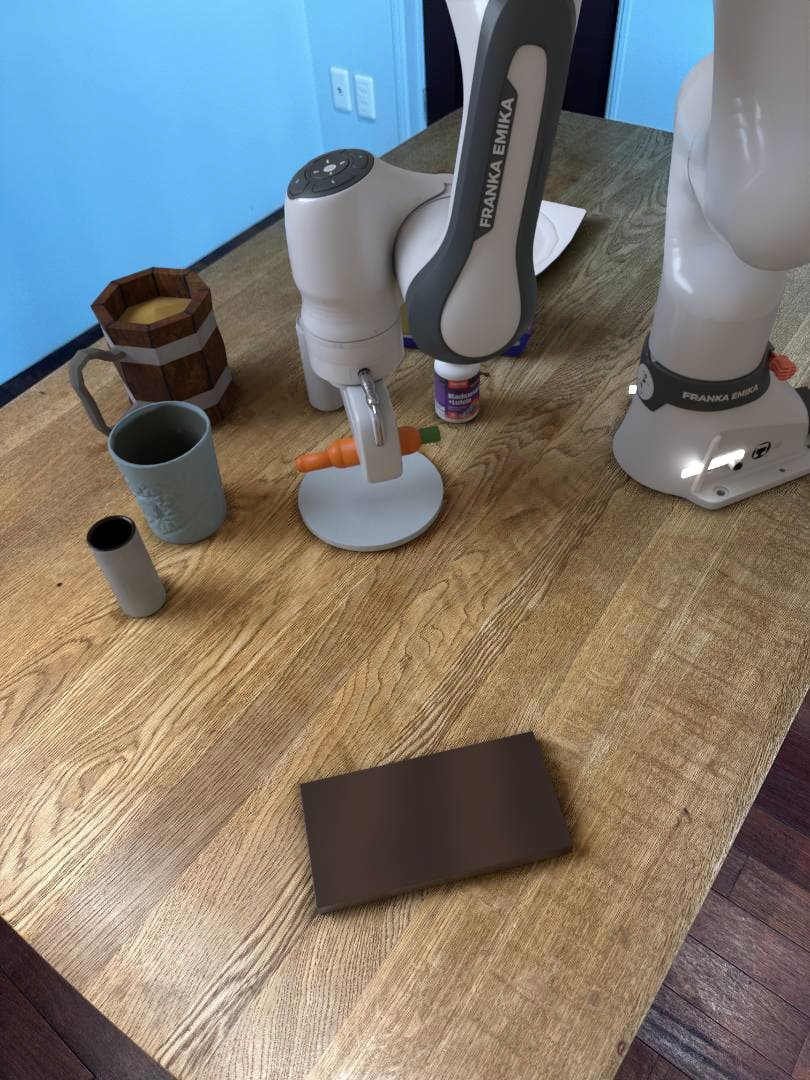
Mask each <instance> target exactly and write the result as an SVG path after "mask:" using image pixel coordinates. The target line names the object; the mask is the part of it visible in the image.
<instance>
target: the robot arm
mask: <svg viewBox="0 0 810 1080" xmlns="http://www.w3.org/2000/svg"><path fill="white" fill-rule="evenodd" d="M582 1H583V0H445V3H446V6H447V9H448V13H449V16H450V20H451V23H452V27H453V32H454V34H455V38H456V44H457V48H458V52H459V58H460V64H461V73H462V85H463V108H462V119H461V127H460V132H459V139H458V144H457V145H458V146H457V151H456V152H457V153H456V159H455V160H456V161H455V165H454V172H448V171H446V172H444V171H443V172H442V171H441V172H434V173H425V172H419V171H413V170H409V169H406V168H405V169H404V168H402V167H398V166H395V165H393V164H390V163H388V162H385V161H384V160H383V159H381V158H379V157H378V156H376V155H375V154H374V153H373V152H372V151H371V152H370V151H368V150H365V149H361V148H339V149H334V150H331V151H328V152H325V153H322V154H319V155H318V156H316V157H314V158H312V159H310V160H308V161H307V162H306V164H304V165H303V166H302V167H301V168H300V169H298V170H297V171H296V173H295V174H294V175H293V176H292V178H291V180H290V182H289V183H288V186H287V188H286V193H285V198H284V206H283V207H284V209H283V210H284V227H285V228H284V229H285V238H286V245H287V252H288V259H289V264H290V269H291V275H292V278H293V281H294V283H295V285H296V287H297V289H298V291H299V293H300V296H301V309H300V313H301V319H302V324H303V330H304V335H305V340H306V345H307V350H308V355H309V360H310V364H311V367H312V369H313V370H314V372H315V373H316V374H317V375H318V376H320V377H321V378H323V379H325V380H327V381H329V382H330V383H331V384H332V385H333V386H335V387H337V388H339V389H340V392H341V395H342V399H343V403H344V405H343V407H344V409H345V413H346V417H347V420H348V425H349V428H350V432H351V435H352V437H353V439H354V443H355V446H356V450H357V454H358V457H359V461H360V464H361V468H362V472H363V475H364V478H365V480H366V482H367V483H369V484H374V483H381V482H386V481H390V480H394V479H397V478H399V477H401V475H402V473H403V463H402V455H401V448H400V441H399V434H398V422H397V417H396V414H395V410H394V407H393V404H392V401H391V397H390V395H389V391H388V389H387V385H386V381H387V380H388V379H389V378H390V376H391V375H392V373H393V372H394V371H396V369H397V368H399V366H400V364H401V363H402V362H403V358H404V356H405V347H404V344H403V334H402V322H401V312H400V306H401V305H402V304H404V303H405V310H406V315H407V320H408V326H409V331H410V334H411V336H412V339H413V340H414V342H415V344H416V345H417V346H418V347H419V348H418V349H420V351H422V352H423V353H424V354H425V355H427V356H428V357H430V358H432V359H434V360H435V359H436V360H439V361H442V362H446V363H451V364H457V365H471V364H477V363H480V364H482V363H485V362H488V361H491V360H493V359H496V358H497V357H499V356H502V355H501V354H502V353H504V352H506V351H507V350H508V349H510V348H511V347H512V346H513V345H514V344H515V343H516V342H518V340H519V339H520V338H521V337H522V336H523V335H524V334H525V332H526V331H527V330H528V328H529V327H530V325H531V323H532V321H533V319H534V316H535V317H536V314H537V310H538V305H539V304H538V303H539V290H538V283H537V277H535V271H534V263H533V245H534V237H535V231H536V226H537V221H538V216H539V212H540V207H541V202H542V200H543V197H544V193H545V188H546V184H547V178H548V173H549V169H550V165H551V161H552V160H551V159H552V155H553V152H554V151H553V150H554V147H555V142H556V137H557V132H558V127H559V122H560V118H561V114H562V110H563V109H562V107H563V104H564V98H565V94H566V93H565V92H566V88H567V83H568V77H569V71H570V63H571V57H572V56H571V55H572V51H573V46H574V42H575V36H576V32H577V27H578V21H579V16H580V11H581V7H582ZM712 9H713V51H712V52H710V53H707V55H706V56H704V57H703V58H701V59H700V60H699V61H698V62H697V63H696V64H695V65H694V66H693V67H692V68H691V70H690V71H689V72H688V73H687V75H686V76H685V78H684V79H683V81H682V83H681V85H680V87H679V89H678V92H677V94H676V97H675V103H674V111H673V112H674V113H673V137H672V138H673V139H672V147H671V157H670V166H669V167H670V168H669V175H668V177H669V178H668V188H667V199H666V200H667V201H666V212H665V229H664V249H663V261H662V270H661V275H660V276H661V277H660V281H659V287H658V292H657V297H656V302H655V307H654V312H653V317H652V322H651V327H650V330H649V331H648V332H647V334H646V336H645V338H644V340H643V345H642V349H641V353H640V357H639V363H638V367H637V368H638V369H637V374H636V383H635V385H629V390H628V393H629V394H634V395H633V397H632V400H631V402H630V405H629V407H628V409H627V412H626V414H625V416H624V418H623V420H622V422H621V423H620V426H619V427H618V428H617V430H616V431H615V433H614V435H613V439H612V451H613V455H614V458H615V460H616V462H617V464H618V465H619V467H620V468H621V469H622V470H623V472H625V474H627V475H628V476H629V477H630V478H632V479H633V480H635V481H636V482H637V483H639V484H641V485H643V486H645V487H647V488H648V489H651V490H654V491H657V492H660V493H664V494H668V495H673V496H676V497H681V498H684V499H686V500H688V501H689V502H691V503H693V504H695V505H697V506H698V507H700V508H703V509H706V510H709V511H710V510H712V511H714V510H719V509H721V508H724V507H726V506H729V505H731V504H734V503H737V502H740V501H742V500H745V499H747V498H749V497H752V496H755V495H758V494H761V493H762V492H765V491H767V490H770V489H773V488H776V487H778V486H780V485H783V484H786V483H788V482H791V481H793V480H796V479H799V478H801V477H804V476H806V475H809V474H810V388H809V387H808V386H807V385H806V386H799V387H793V386H792V384H791V383H790V382H789V381H788V380H790V379H792V377H794V376H795V375H796V373H797V371H798V370H797V369H798V366H797V364H795V363H794V362H793V361H792V360H790V358H789V356H788V355H786V354H778V353H776V351H775V349H776V348H775V346H774V345H773V343H772V342H771V341H770V336H771V334H772V331H773V328H774V325H775V322H776V319H777V316H778V313H779V310H780V307H781V304H782V302H783V298H784V294H785V292H786V285H787V271H788V270H789V271H790V270H794V269H797V268H800V267H803V266H805V265H808V264H810V0H712ZM535 313H536V314H535ZM534 320H535V319H534Z"/></svg>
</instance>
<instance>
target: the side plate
mask: <svg viewBox="0 0 810 1080" xmlns="http://www.w3.org/2000/svg"><path fill="white" fill-rule="evenodd" d="M402 463H403V473H402V475H401V477H399V478H397V479H394V480H390V481H386V482H381V483H374V484H369V483H367V482H366V480H365V478H364V475H363V472H362V468H361V465H358V466H353V467H348V468H342V469H341V468H336V467H330V468H325V469H321V470H316V471H311V472H306V474H305V475H304V476H303V478H302V480H301V482H300V485H299V488H298V493H297V504H298V505H297V506H298V510H299V513H300V517H301V519H302V521H303V523H304V525H305V526H306V527H307V529H308V530H309V531H310V532H311V533H312V534H313V535H314V536H315V537H317V538H318V539H320V541H323V542H324V543H326V544H328V545H330V546H334V547H336V548H339V549H343V550H345V551H346V550H347V551H353V552H377V551H384V550H389V549H393V548H396V547H399V546H403V545H405V544H406V543H408V542H411V541H413V540H414V539H416V538H418V537H419V536H421V535H422V534H423V533H425V531H427V530H428V529H429V528H430V527H431V526H432V525H433V523H434V522H435V521H436V519H437V518H438V516H439V514H440V513H441V510H442V508H443V507H442V506H443V504H444V496H445V494H444V483H443V478H442V476H441V473H440V471H439V470H438V468H437V467H436V466H435V464H434V463H433V461H431V460H430V459H429V458H427V457H426V456H425V455H423V453H420V452H418V451H417V452H415V453H413V454H410V455H406V456H402Z"/></svg>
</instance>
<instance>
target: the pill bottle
mask: <svg viewBox="0 0 810 1080" xmlns="http://www.w3.org/2000/svg"><path fill="white" fill-rule="evenodd" d="M433 369H434V370H433V373H434V375H433V381H434V409H435V413H436V414H437V416H438V417H439V418H440V419H442V420H444V421H446V422H449V423H452V424H453V423H454V424H460V423H467V422H468V421H471V420H473V419H474V418H475V417H476V416H477V415H478V413H479V412H480V398H481V397H480V396H481V395H480V394H481V363H477V364H471V365H457V364H451V363H446V362H442V361H439V360H436V359H434V363H433Z"/></svg>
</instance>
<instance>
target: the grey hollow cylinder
mask: <svg viewBox="0 0 810 1080" xmlns="http://www.w3.org/2000/svg"><path fill="white" fill-rule="evenodd" d="M86 533H87V534H86V536H85V541H86V544H87V546H88V548H89V550H90V552H91V554H92V555H93V558H94V559H95V561H96V564H97V565H98V567H99V569H100V571H101V573H102V574H103V576H104V578H105V580H106V582H107V584H108V586H109V588H110V590H111V591H112V593H113V595H114V597H115V599H116V601H117V603H118V605H119V607H120V608H121V610H122V611H123V612H124V614H125V615H127V616H129V617H131V618H138V619H139V618H146V617H149V616H151V615H153V614H155V613H156V612H158V611H159V610H160V609H161V608H162V606H163V605H164V604H165V601H166V598H167V593H166V590H165V587H164V584H163V583H162V579H161V578H160V576H159V574H158V573H159V572H158V571H157V569H156V566H155V565H154V563H153V560H152V558H151V555H150V553H149V551H148V549H147V547H146V545H145V542H144V540H143V538H142V535H141V533H140V531H139V529H138V526H137V525H136V523H135V521H134V519H132V518H131V517H128V516H126V515H122V514H115V515H108V516H106V517H103V518H101V519H99V520H98V521H96V522H95V523H93V524H92V525H91V526H90V528H89V529H88V531H87V532H86Z"/></svg>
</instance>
